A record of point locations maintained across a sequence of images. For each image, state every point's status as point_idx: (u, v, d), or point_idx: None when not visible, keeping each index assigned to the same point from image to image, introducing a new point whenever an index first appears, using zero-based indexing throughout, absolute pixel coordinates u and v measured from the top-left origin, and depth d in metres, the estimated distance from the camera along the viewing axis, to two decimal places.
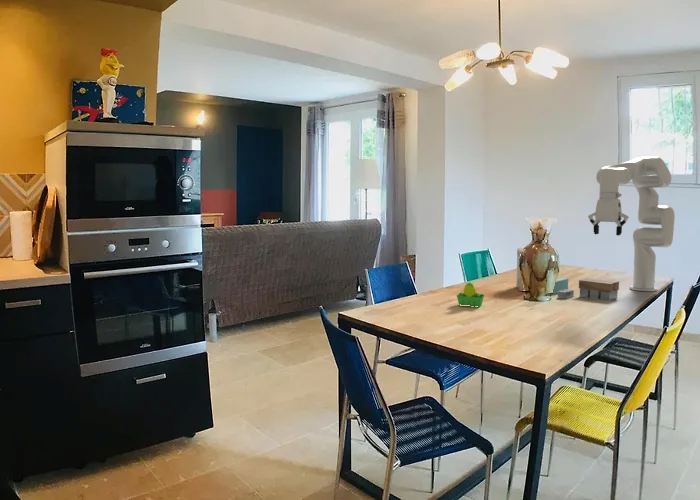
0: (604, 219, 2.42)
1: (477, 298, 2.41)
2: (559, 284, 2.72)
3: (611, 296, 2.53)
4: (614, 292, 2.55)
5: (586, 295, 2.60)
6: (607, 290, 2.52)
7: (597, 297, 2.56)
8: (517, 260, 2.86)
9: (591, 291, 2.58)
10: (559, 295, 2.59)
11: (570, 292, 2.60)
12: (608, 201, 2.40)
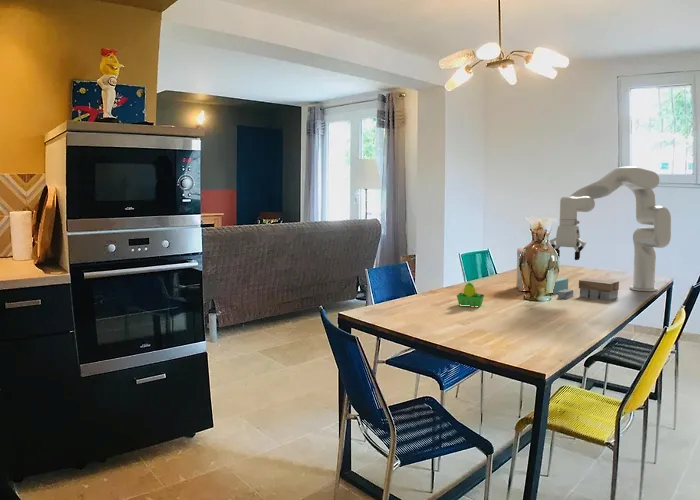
0: (564, 244, 2.57)
1: (477, 298, 2.41)
2: (559, 284, 2.72)
3: (610, 296, 2.53)
4: (614, 292, 2.55)
5: (586, 295, 2.60)
6: (607, 290, 2.52)
7: (597, 297, 2.56)
8: (517, 260, 2.86)
9: (591, 291, 2.58)
10: (559, 295, 2.59)
11: (570, 292, 2.60)
12: (567, 228, 2.55)
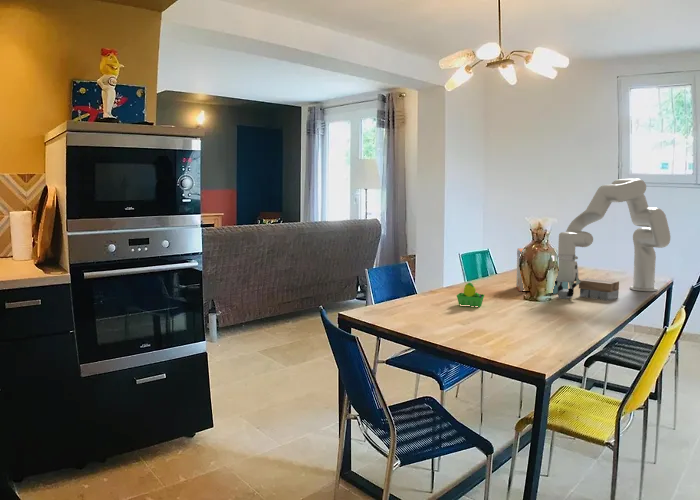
0: (562, 279, 2.60)
1: (477, 298, 2.41)
2: None
3: (610, 296, 2.53)
4: (614, 292, 2.55)
5: (586, 295, 2.60)
6: (607, 290, 2.52)
7: (597, 297, 2.56)
8: (517, 260, 2.86)
9: (591, 291, 2.58)
10: (560, 295, 2.59)
11: None
12: (565, 263, 2.57)
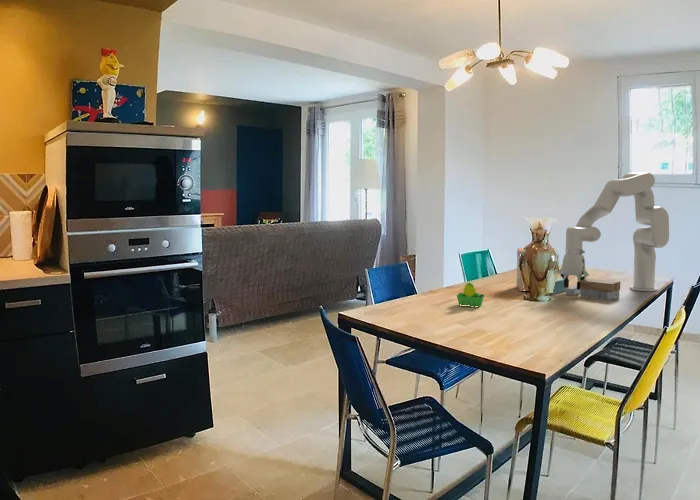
0: (569, 273, 2.67)
1: (477, 298, 2.41)
2: (559, 284, 2.72)
3: (610, 296, 2.53)
4: (614, 292, 2.55)
5: (587, 295, 2.60)
6: (608, 290, 2.52)
7: (598, 297, 2.56)
8: (517, 260, 2.86)
9: (592, 291, 2.58)
10: (567, 292, 2.67)
11: None
12: (573, 257, 2.65)
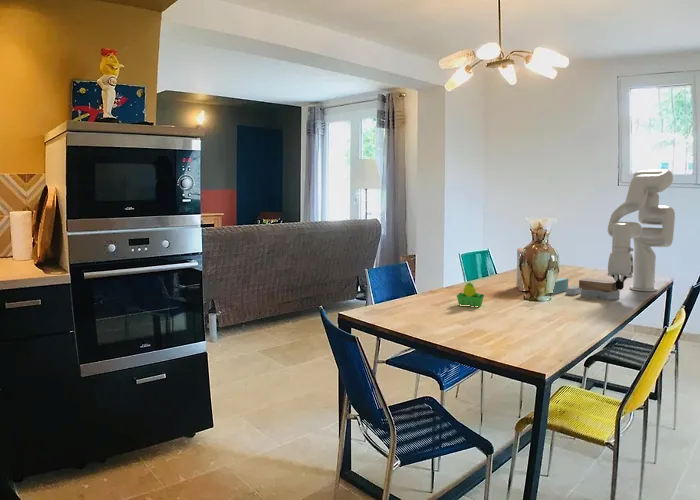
0: (617, 272, 2.51)
1: (477, 298, 2.41)
2: (559, 284, 2.72)
3: (610, 296, 2.53)
4: (615, 292, 2.55)
5: (588, 295, 2.60)
6: (607, 290, 2.52)
7: (597, 297, 2.56)
8: (517, 260, 2.86)
9: (591, 291, 2.58)
10: (567, 292, 2.67)
11: (577, 289, 2.68)
12: (621, 255, 2.48)
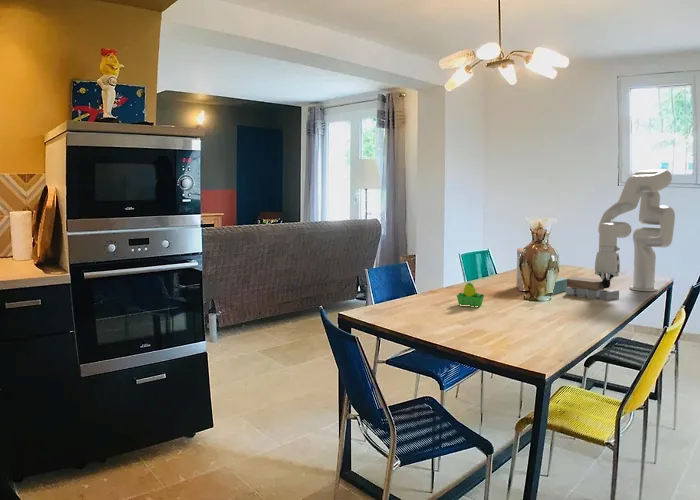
0: (603, 271, 2.55)
1: (477, 298, 2.41)
2: (559, 284, 2.72)
3: (609, 296, 2.53)
4: (614, 292, 2.55)
5: (583, 294, 2.61)
6: (594, 288, 2.57)
7: (594, 297, 2.57)
8: (517, 260, 2.86)
9: (588, 291, 2.59)
10: (567, 292, 2.67)
11: None
12: (607, 254, 2.53)
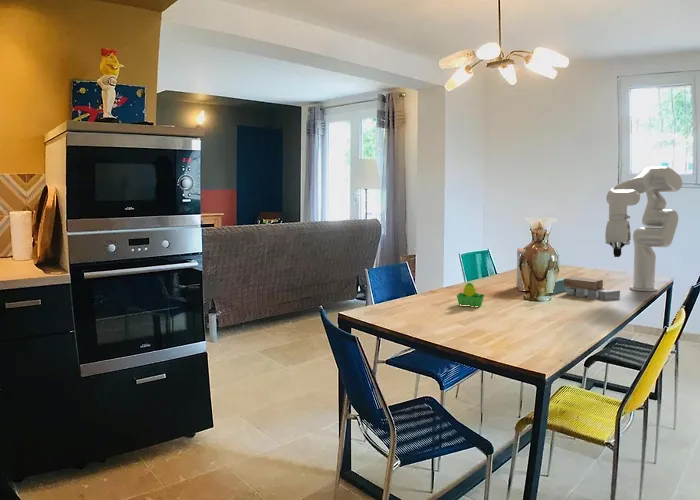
0: (614, 240, 2.55)
1: (477, 298, 2.41)
2: (559, 284, 2.72)
3: (608, 296, 2.54)
4: (614, 292, 2.55)
5: (582, 294, 2.61)
6: (591, 288, 2.58)
7: (595, 297, 2.57)
8: (517, 260, 2.86)
9: (589, 291, 2.59)
10: (567, 292, 2.68)
11: None
12: (617, 223, 2.52)
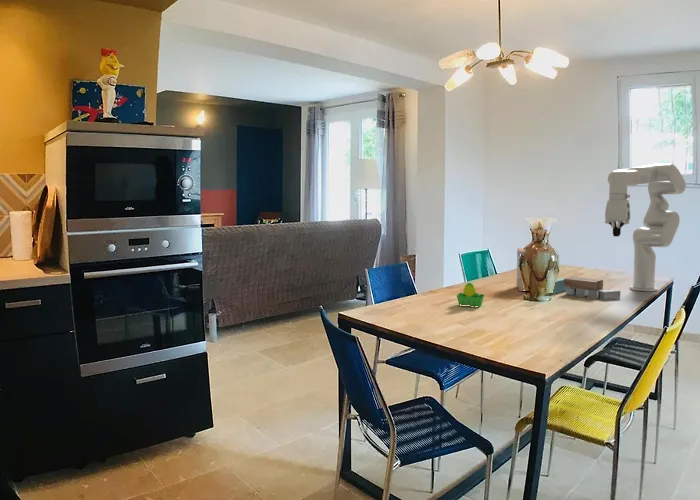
0: (613, 219, 2.55)
1: (477, 298, 2.41)
2: (559, 284, 2.72)
3: (607, 296, 2.54)
4: (614, 292, 2.55)
5: (582, 294, 2.61)
6: (591, 288, 2.58)
7: (595, 297, 2.57)
8: (517, 260, 2.86)
9: (589, 291, 2.59)
10: (567, 291, 2.68)
11: None
12: (617, 202, 2.53)
